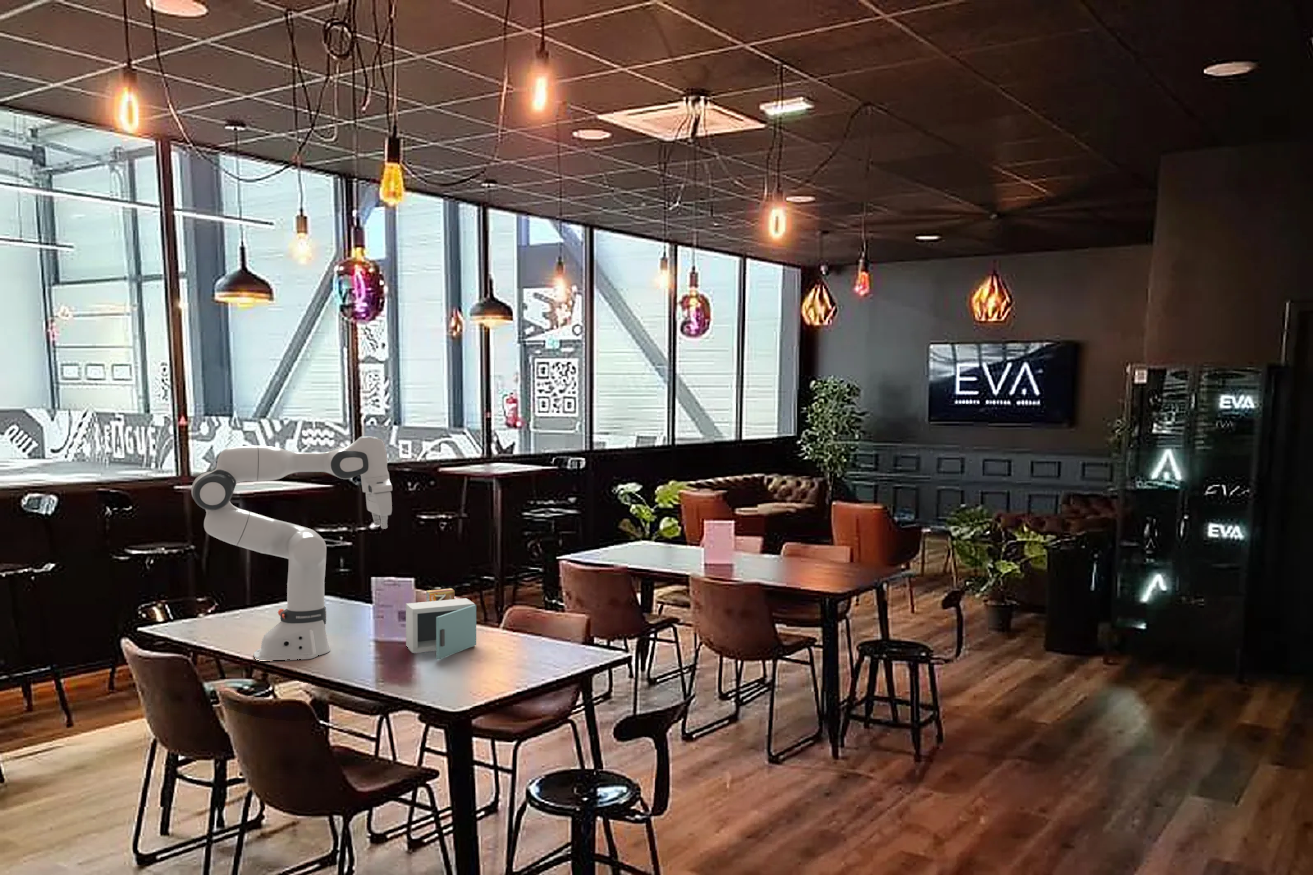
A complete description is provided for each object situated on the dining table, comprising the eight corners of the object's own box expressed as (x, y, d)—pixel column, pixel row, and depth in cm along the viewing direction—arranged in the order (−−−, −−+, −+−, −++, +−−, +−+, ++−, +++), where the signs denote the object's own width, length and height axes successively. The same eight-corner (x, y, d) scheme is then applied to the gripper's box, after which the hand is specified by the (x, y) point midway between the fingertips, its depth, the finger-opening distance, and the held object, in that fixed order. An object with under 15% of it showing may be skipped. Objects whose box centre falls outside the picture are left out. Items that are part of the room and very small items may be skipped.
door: (441, 660, 284) (441, 617, 284) (436, 659, 285) (436, 617, 285) (478, 645, 303) (478, 605, 303) (473, 644, 304) (473, 604, 303)
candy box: (451, 631, 324) (450, 587, 324) (455, 634, 321) (454, 590, 320) (426, 634, 320) (425, 590, 319) (429, 637, 316) (429, 592, 316)
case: (412, 653, 295) (412, 609, 295) (406, 646, 304) (405, 603, 304) (474, 646, 304) (474, 603, 304) (466, 639, 313) (466, 598, 313)
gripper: (359, 484, 311) (364, 525, 312) (373, 488, 293) (378, 531, 294) (378, 481, 314) (383, 522, 315) (393, 485, 296) (398, 528, 297)
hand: (380, 526), depth 305 cm, fingers open, 8 cm apart
